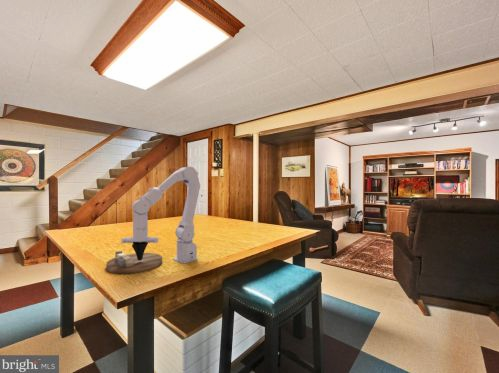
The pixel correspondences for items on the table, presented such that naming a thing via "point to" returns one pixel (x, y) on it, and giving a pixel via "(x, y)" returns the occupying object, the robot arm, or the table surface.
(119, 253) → the folding leg
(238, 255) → the table surface
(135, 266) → the stool seat
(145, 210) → the robot arm
